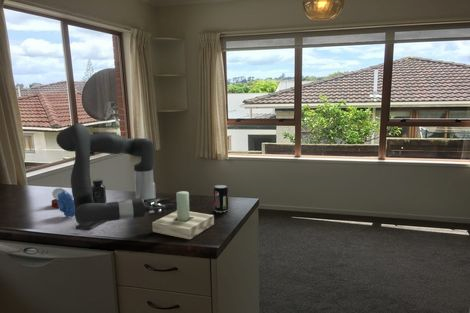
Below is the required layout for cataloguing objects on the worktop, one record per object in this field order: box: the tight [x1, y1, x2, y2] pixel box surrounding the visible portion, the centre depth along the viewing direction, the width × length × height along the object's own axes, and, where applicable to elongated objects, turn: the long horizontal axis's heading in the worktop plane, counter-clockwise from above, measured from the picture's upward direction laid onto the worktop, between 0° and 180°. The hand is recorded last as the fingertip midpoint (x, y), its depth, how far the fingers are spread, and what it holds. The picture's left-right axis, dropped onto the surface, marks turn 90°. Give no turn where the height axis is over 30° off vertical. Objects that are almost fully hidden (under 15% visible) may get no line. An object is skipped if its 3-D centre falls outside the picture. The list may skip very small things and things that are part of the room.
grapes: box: [57, 190, 75, 218], centre depth 164 cm, size 12×7×12 cm, turn 62°
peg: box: [175, 190, 190, 222], centre depth 148 cm, size 5×5×15 cm
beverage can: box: [213, 184, 229, 214], centre depth 170 cm, size 7×7×12 cm
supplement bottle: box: [91, 178, 107, 203], centre depth 186 cm, size 7×7×12 cm
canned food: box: [50, 187, 74, 209], centre depth 184 cm, size 11×10×10 cm
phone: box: [75, 220, 108, 231], centre depth 157 cm, size 8×1×15 cm
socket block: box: [152, 210, 215, 240], centre depth 149 cm, size 18×18×4 cm
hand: (172, 203), depth 146 cm, fingers open, 8 cm apart
